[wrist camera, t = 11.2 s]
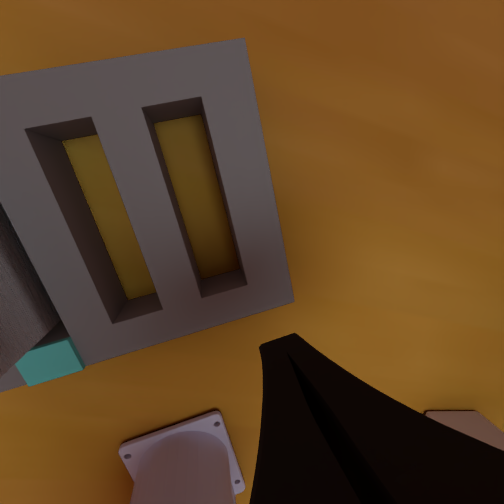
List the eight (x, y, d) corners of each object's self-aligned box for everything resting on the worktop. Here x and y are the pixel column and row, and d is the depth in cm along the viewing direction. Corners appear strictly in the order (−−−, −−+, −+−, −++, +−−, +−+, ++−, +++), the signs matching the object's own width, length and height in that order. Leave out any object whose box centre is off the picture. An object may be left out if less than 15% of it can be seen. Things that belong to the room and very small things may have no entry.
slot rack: (279, 283, 18) (296, 303, 15) (14, 362, 16) (-31, 405, 13) (235, 67, 14) (245, 34, 11) (-131, 130, 12) (-248, 110, 9)
